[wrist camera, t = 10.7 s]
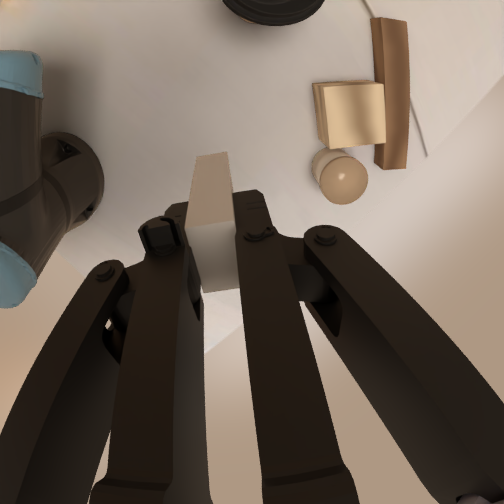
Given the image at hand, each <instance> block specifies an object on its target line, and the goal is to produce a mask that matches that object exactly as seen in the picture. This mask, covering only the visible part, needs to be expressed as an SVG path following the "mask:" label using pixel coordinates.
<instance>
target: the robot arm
mask: <svg viewBox="0 0 504 504" xmlns="http://www.w3.org/2000/svg"><path fill="white" fill-rule="evenodd" d="M42 74H43V63H42V60H41V58H40V57H39V56H38V55H37V54H36V53H33V52H30V51H19V50H0V308H13V307H16V306H18V305H19V304H20V303H22V302H23V300H24V299H25V298H26V296H27V295H28V293H29V291H30V290H31V289H32V288H33V287H34V286H35V285H36V283H37V279H38V277H39V276H40V274H41V272H42V270H43V269H44V267H45V265H46V263H47V262H48V260H49V258H50V257H51V255H52V253H53V252H54V250H55V249H56V247H57V245H58V244H59V242H60V241H61V239H62V238H63V236H64V235H65V233H67V232H69V231H71V230H72V229H74V228H76V227H78V226H80V225H81V224H83V223H84V222H86V221H87V220H88V219H89V218H90V217H91V215H92V214H93V213H94V211H95V210H96V208H97V207H98V205H99V203H100V201H101V198H102V195H103V190H104V177H103V171H102V168H101V165H100V162H99V160H98V158H97V156H96V155H95V153H94V152H93V150H92V149H91V148H90V147H89V146H88V145H87V144H86V143H85V142H84V141H82V140H81V139H80V138H78V137H76V136H74V135H71V134H68V133H62V132H56V133H50V134H47V135H45V136H43V137H41V110H42V99H43V98H44V94H43V93H42ZM138 233H139V236H140V238H141V241H142V244H143V246H144V249H145V252H146V253H145V257H144V260H143V261H141V262H139V263H137V264H135V265H132V266H130V267H127V268H124V265H123V263H122V262H120V261H119V260H107V261H104V262H102V263H100V264H99V265H97V266H96V267H94V268H93V269H92V270H91V272H90V273H89V274H88V276H87V277H86V279H85V280H84V282H83V283H82V284H81V286H80V288H79V289H78V290H77V292H76V294H75V295H74V297H73V298H72V300H71V301H70V303H69V305H68V306H67V307H66V309H65V311H64V312H63V314H62V315H61V317H60V319H59V320H58V322H57V324H56V325H55V327H54V328H53V330H52V332H51V334H50V335H49V337H48V339H47V340H46V342H45V344H44V346H43V347H42V350H41V351H40V353H39V355H38V356H37V358H36V360H35V362H34V364H33V366H32V368H31V370H30V371H29V374H28V375H27V377H26V379H25V381H24V383H23V385H22V388H21V389H20V391H19V394H18V396H17V398H16V400H15V402H14V404H13V406H12V409H11V411H10V413H9V415H8V418H7V420H6V422H5V425H4V427H3V429H2V432H1V434H0V504H87V502H88V498H89V495H90V500H89V504H213V502H212V500H211V496H210V491H209V476H208V461H207V442H206V422H205V421H206V420H205V391H204V303H203V299H202V296H201V293H200V290H201V286H202V289H203V293H208V292H215V291H222V290H229V289H235V288H240V296H241V305H242V314H243V323H244V332H245V341H246V350H247V359H248V368H249V376H250V385H251V393H252V401H253V410H254V418H255V426H256V434H257V442H258V449H259V457H260V465H261V473H262V498H263V504H360V503H359V499H358V495H357V491H356V487H355V484H354V480H353V478H352V475H351V473H350V471H349V470H348V468H347V467H346V466H345V464H344V462H343V460H342V458H341V454H340V450H339V446H338V442H337V439H336V435H335V430H334V426H333V423H332V419H331V415H330V411H329V407H328V404H327V400H326V396H325V392H324V388H323V385H322V381H321V377H320V373H319V370H318V367H317V363H316V359H315V355H314V352H313V348H312V345H311V341H310V338H309V334H308V331H307V327H306V324H305V320H304V317H303V313H302V310H301V306H300V303H299V301H304V303H305V306H306V307H307V309H308V310H309V312H310V313H311V315H312V316H313V318H314V319H315V321H316V322H317V324H318V325H319V327H320V328H321V329H322V331H323V333H324V334H325V335H326V337H327V338H328V340H329V341H330V343H331V344H332V346H333V347H334V349H335V350H336V352H337V353H338V355H339V356H340V358H341V359H342V361H343V362H344V364H345V365H346V367H347V368H348V370H349V371H350V373H351V374H352V376H353V377H354V379H355V380H356V382H357V383H358V385H359V386H360V388H361V389H362V391H363V393H364V394H365V395H366V397H367V399H368V400H369V402H370V403H371V405H372V406H373V408H374V409H375V411H376V412H377V414H378V415H379V417H380V418H381V420H382V422H383V423H384V425H385V426H386V428H387V429H388V431H389V432H390V434H391V435H392V437H393V438H394V440H395V442H396V443H397V445H398V446H399V448H400V449H401V451H402V452H403V454H404V456H405V457H406V459H407V460H408V462H409V463H410V465H411V466H412V468H413V470H414V471H415V473H416V474H417V476H418V477H419V479H420V481H421V482H422V483H423V485H424V486H425V487H426V489H427V490H428V492H429V493H430V494H431V496H432V497H433V498H434V499H435V500H436V501H437V502H438V503H439V504H504V403H503V402H502V401H501V399H500V398H499V397H498V395H497V394H496V393H495V392H494V390H493V389H492V388H491V386H490V385H489V384H488V383H487V382H486V380H485V379H484V378H483V376H482V375H480V373H479V372H478V370H477V369H476V368H475V367H474V366H473V364H472V363H471V362H470V361H469V360H468V358H467V357H466V356H465V355H464V354H463V352H461V350H460V349H459V348H458V347H457V346H456V344H455V343H454V342H453V341H452V340H451V339H450V338H449V336H448V335H447V334H446V333H445V332H444V331H443V330H442V329H441V328H440V326H439V325H438V324H437V323H436V322H435V321H434V320H433V319H432V318H431V317H430V316H429V315H428V313H426V311H425V310H424V309H423V308H422V307H421V306H420V305H419V304H418V303H417V302H416V301H415V300H414V299H413V298H412V297H411V296H410V295H409V294H408V293H407V292H406V290H405V289H403V288H402V286H401V285H400V284H399V283H397V281H396V280H395V279H394V278H393V277H391V275H389V273H388V272H387V271H386V270H385V269H383V268H382V266H380V265H379V264H378V263H377V262H376V261H375V260H374V259H373V258H372V257H371V256H370V255H369V254H368V253H367V252H366V251H365V250H364V249H363V248H362V247H360V245H359V244H357V243H356V242H355V241H354V240H353V239H352V238H351V237H350V236H349V235H348V234H347V233H346V232H344V231H343V230H341V229H340V228H338V227H335V226H331V225H319V226H314V227H312V228H310V229H308V230H307V231H306V232H305V233H304V238H293V237H287V236H284V235H281V234H279V233H278V231H277V229H276V228H275V227H274V226H273V225H272V221H271V218H270V215H269V212H268V208H267V205H266V202H265V199H264V196H263V194H262V193H261V192H259V191H258V190H256V189H255V190H249V191H242V192H236V193H233V187H232V180H231V174H230V168H229V162H228V156H227V152H222V153H216V154H210V155H205V156H199V157H197V158H196V163H195V168H194V174H193V179H192V185H191V191H190V197H189V201H188V202H182V203H177V204H172V205H171V206H170V207H169V208H168V209H167V210H166V211H165V214H164V216H159V217H155V218H152V219H150V220H148V221H146V222H145V223H144V224H143V225H141V226H140V228H139V229H138ZM108 319H109V320H110V321H111V325H110V327H109V328H108V329H106V327H105V325H106V323H107V321H108ZM110 430H111V434H110V444H109V455H108V468H107V473H106V475H105V477H104V478H103V479H101V480H100V481H98V482H97V483H95V485H94V486H93V488H92V485H93V482H94V479H95V475H96V472H97V469H98V466H99V463H100V459H101V456H102V454H103V451H104V447H105V445H106V442H107V439H108V436H109V433H110ZM91 488H92V490H91ZM90 492H91V494H90Z"/></svg>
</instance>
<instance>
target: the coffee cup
mask: <svg viewBox="0 0 504 504" xmlns="http://www.w3.org/2000/svg"><path fill="white" fill-rule="evenodd" d="M222 1H223V2H224V4H225V5H226V6H227V7H228V8H229V9H230V10H231V11H233V12H234V13H235V14H237V15H238V16H239V17H240V18H241V19H243V20H244V21H246V22H249V23H256V24H261V25H268V26H284V25H291V24H295V23H298V22H301V21H303V20H305V19H307V18H309V17H310V16H311V15H313V14H314V13H315V12H316V11H317V10H318V9H319V8H320V7H321V5H322V4H323V2H324V1H325V0H222Z"/></svg>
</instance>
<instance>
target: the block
mask: <svg viewBox="0 0 504 504" xmlns="http://www.w3.org/2000/svg"><path fill="white" fill-rule="evenodd" d="M312 87H313V94H314V102H315V110H316V118H317V127H318V136H319V140H320V141H321V142H323V143H324V144H325V145H326V146H327V147H328V148H329V149H336V148H344V147H352V146H360V145H369V144H379V143H386V124H385V101H384V85H383V84H381V83H377V82H373V81H369V80H354V81H336V82H323V83H312Z"/></svg>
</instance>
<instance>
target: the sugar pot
mask: <svg viewBox="0 0 504 504" xmlns="http://www.w3.org/2000/svg"><path fill="white" fill-rule="evenodd" d="M312 173H313V176H314V177H315V179H316V180H317V182H318V183H319V185H320V189H321V191H322V193H323V195H324V196H325V197H326V198H327V199H328V200H329V201H330V202H332V203H335V204H339V205H344V204H349V203H352V202H354V201H355V200H357V199H358V198H359V197H360V196H361V195H362V194H363V193H364V191H365V189H366V187H367V184H368V174H367V171H366V168H365V167H364V166H363V164H362V163H360V162H359V161H358V160H357V159H355V158H353V157H351V156H349V155H348V154H347V153H346V152H345V151H344V150H342V149H341V148H336V149H329V148H328V147H327V148H324V149H322V150H321V151H319V152H318V153H317V154H316V156H315V157H314V159H313V161H312Z"/></svg>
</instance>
